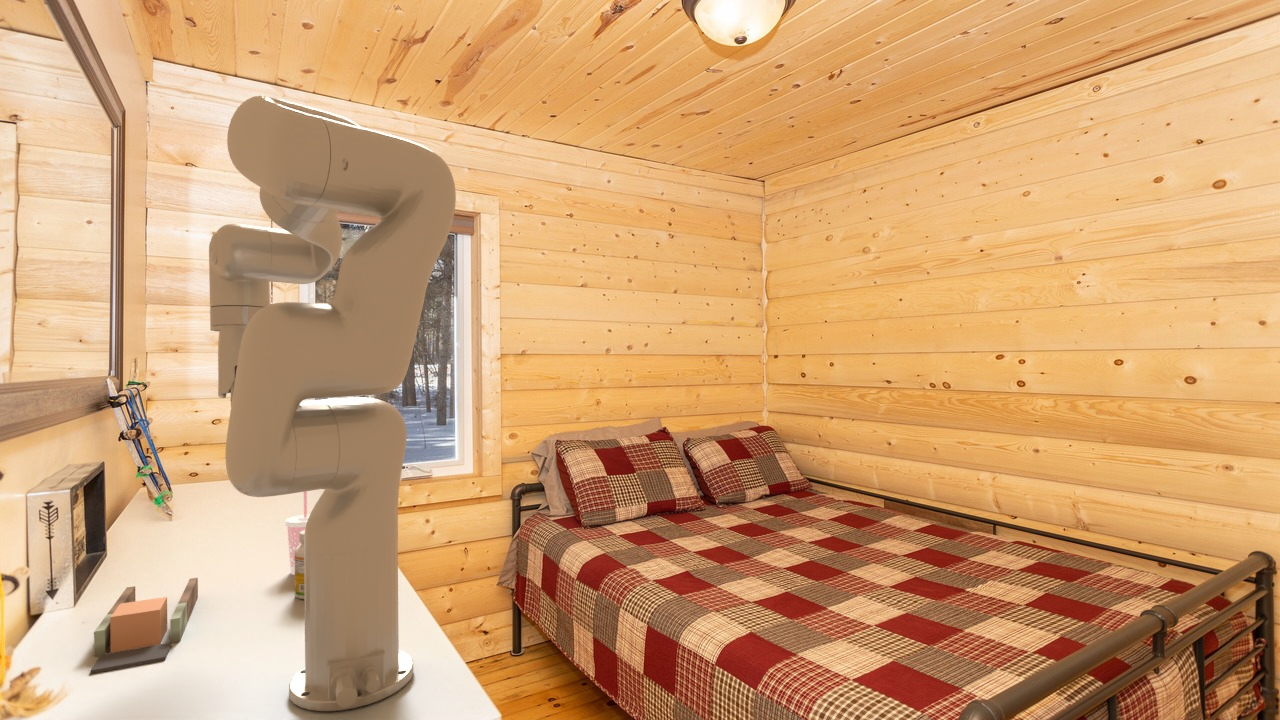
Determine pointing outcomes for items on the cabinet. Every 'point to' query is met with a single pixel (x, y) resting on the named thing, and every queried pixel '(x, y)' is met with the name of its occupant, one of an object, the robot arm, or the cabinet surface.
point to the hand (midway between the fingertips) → (243, 445)
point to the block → (138, 624)
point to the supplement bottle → (299, 568)
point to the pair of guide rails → (176, 622)
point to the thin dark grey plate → (131, 658)
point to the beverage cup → (296, 532)
